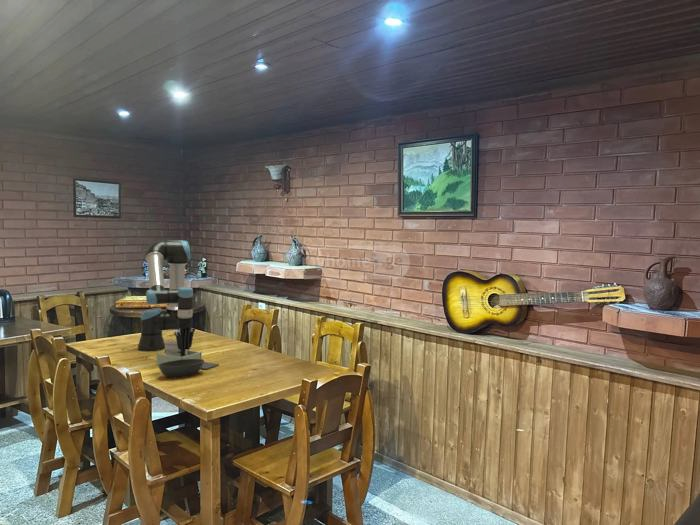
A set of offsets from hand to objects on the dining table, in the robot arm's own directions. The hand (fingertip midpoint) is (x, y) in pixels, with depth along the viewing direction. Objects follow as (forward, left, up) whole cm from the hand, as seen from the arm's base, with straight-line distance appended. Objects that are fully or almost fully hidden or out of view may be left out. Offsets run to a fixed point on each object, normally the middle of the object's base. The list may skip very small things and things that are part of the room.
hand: (184, 361), depth 261 cm
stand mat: (+11, +3, -2) cm, 12 cm away
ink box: (-7, 0, -2) cm, 7 cm away
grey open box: (-3, 0, -2) cm, 4 cm away
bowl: (+12, -15, -2) cm, 19 cm away
